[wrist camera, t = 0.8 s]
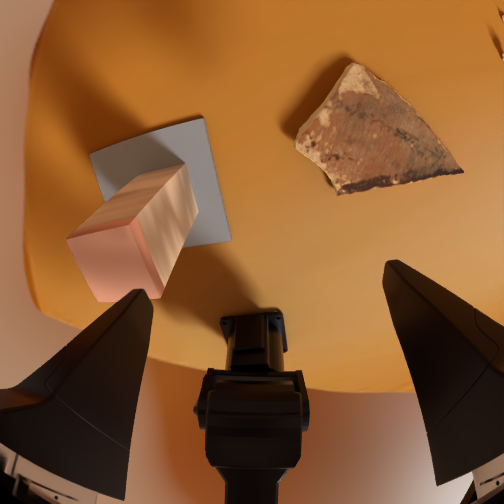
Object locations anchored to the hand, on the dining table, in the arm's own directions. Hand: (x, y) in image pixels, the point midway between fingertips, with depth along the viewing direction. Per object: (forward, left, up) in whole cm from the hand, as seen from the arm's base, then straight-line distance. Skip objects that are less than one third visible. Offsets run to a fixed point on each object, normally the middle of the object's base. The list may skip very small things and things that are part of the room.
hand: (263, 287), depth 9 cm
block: (0, +7, -13) cm, 14 cm away
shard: (+3, -10, -14) cm, 17 cm away
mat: (0, +8, -13) cm, 15 cm away
